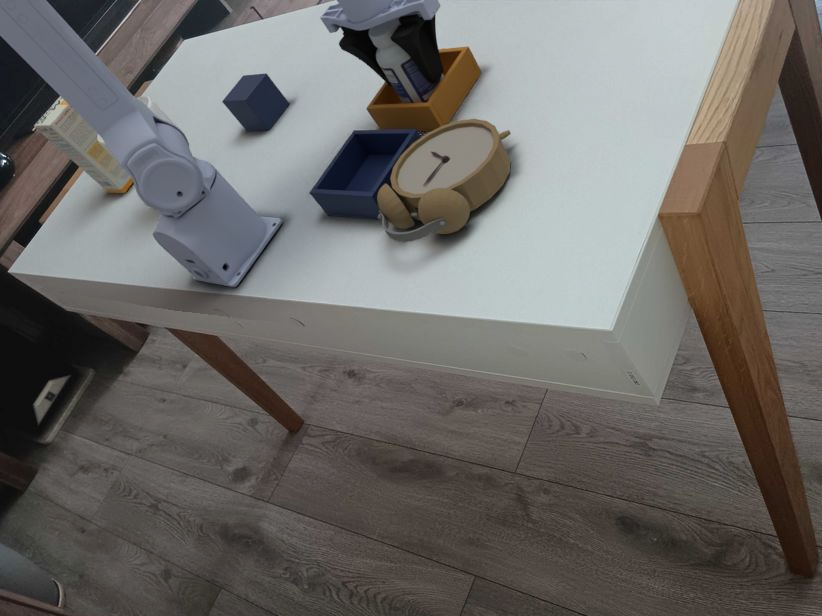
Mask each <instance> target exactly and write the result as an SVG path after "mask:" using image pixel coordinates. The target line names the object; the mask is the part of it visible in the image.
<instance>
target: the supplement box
mask: <svg viewBox="0 0 822 616" xmlns="http://www.w3.org/2000/svg"><path fill="white" fill-rule="evenodd" d="M33 126H34V128H35V129H36V130H37V131H38V132H40V133H41V134H42V136H43V137H45V138H46V139H47V140H48V141H50V142H51V143H52V144H53V145H54V146H55V147H56V148H58V150H60V151H61V152H62V153H63V154H64V155H66V156H67V158H69V159H70V160H71V161H72V162H73V163H74V164H75V165H76V166H78V168H80V169H81V170H82V171H83V172H84V173H86V174H87V175H88V176H89V177H90V178H91V179H92V180H93V181H94V182H96V184H97V185H99V186H100V187H101V188H102V189H104V190H105V191H106V192H107V193H108V194H126V192H127V191H128V190H129V189H130V187H131V186H132V185H133V184H134V182H133V180H132V178H131V176H130V175H129V174H128V172H127V171H126V170H125V169H124V168H123V167H122V166H121V165H120V164H119V163H118V161H117V160H116V159H115V158H114V157H113V156H112V155H111V154H110V153H108V152H107V151H106V150H105V149H104V148H103V147H102V146H101V144H100V143H99V142H98V139H97V136H98V133H97V132H96V131H95V130H94V129H93V128H92V127H91V126H90V125H89V124H88V123H87V122H86V121H85V120H84V119H83V118H82V117H81V116H80V115H79V114H78V113H77V112H76V111H75V110H74V109H73V108H72V107H71V106H70V105H69V104H68V103H67V102H66V101H65V100H64V99H63V98H62V97H61V96H60V95H59V97H58V98H57V99H56V100H55V102H54V103H53V104H52V105H51V106H50V107H49V108H48V110H46V112H45V113H44V114H43V115H42V116H41V117H40V118H39V119H38V120H37V122H36V123H35V124H34V125H33Z"/></svg>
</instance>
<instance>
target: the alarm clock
mask: <svg viewBox="0 0 822 616" xmlns="http://www.w3.org/2000/svg"><path fill="white" fill-rule="evenodd" d="M510 135H511V131H510V130H509V129H508V130H505V131H502V132H500V133H499V131H498V129H497V127H496V126H495V125H494V124H493V123H491V122H489V121H488V120H485V119H484V120H483V119H477V118H469V119H461V120H456V121H454V122H449V123H448V124H446V125H443V126H441V127H439V128H437V129H435V130H433V131H428V132H427V133H426V134H424V135H423V136H421V138H420V139H419V140H417V141H416V142H414V143H413V144H412V145H411V146H410V147H409V148H408V149H407V150H406V151H405V152H404V153H403V154H402V155H401V156H400V158H399V159H398V161H397V162H396V164H395V165H394V167H393V170H392V174H391V177H390V179H391V184H392V188H393V190H394V191H395V192H396V194H397V195H398V196H397V195H396V194H395V192H394V191H393V190H392V189H391V188H390V187H389V186H388V185H387V184H384V185H383V186H382V187H381V188H380V190H379V191H378V195H377V201H378V206H379V208H380V210H379V212H380V214H379V215H378V216H377V217H378V219H377V220H379V221H381V225H382V229H383V230H384V232H385V233H386V234H387V236H388V237H389V238H390V239H391V240H393V241H395V242H401V243H408V242H414V241H417V240H420V239H423V238H425V237H427V236H428V235H430V234H432V233H436V234H442V235H448V234H449V235H450V234H455V233H456V232H459V231H460V230H461V229H462V228H464V227H465V225H466V223H467V221H468V220H469V218H470V213H471V212H473V211H475V210H476V209H478V208H479V207H481V206H482V205H483V204H485V203H486V202H488V201H489V200H490V199H492V198H493V197H494V195H495V194H496V193H497V192H498V191H499V190H501V188H502V187H503V186H504V185H505V184H504V183H505V182H506V180H507V179H508V176H509V174H510V172H511V165H512V164H511V162H512V160H511V159H510V158H511V157H510V156H509V154H508V152H507V150H506V149H505V146H504V143H503V142H502V141H503V140H505V139H506V138H508V137H509V136H510ZM398 197H399V198H398ZM381 212H382V213H381ZM385 218H386V219H387V220H386V219H385ZM414 220H417V221H420V222H421V223H422V224H423V226H420V227H418V228H416V229H412V230H409V231H403V232H402V231H401V232H400V231H394V230H391V229H389V228H390V227H389V225H392V226H394V227H396V228H398V229H401V230H402V229H404V230H405V229H409V228H412V227H413V226H414V227H415V221H414Z"/></svg>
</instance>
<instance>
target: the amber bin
mask: <svg viewBox="0 0 822 616" xmlns="http://www.w3.org/2000/svg"><path fill="white" fill-rule="evenodd" d="M438 50H439V54H440V58H441V62H442V66H443V69H444V72H443V75H444V78H443V79H442V81H441V82H440V84H439V85H438V87H437V88H436V90H435V91H434V93H433V94H432V96H431V97H430V99H429V100H428V102H427V103H405V104H403V102H402V101H401V99H400V97H399V96H398V94H397V93H396V91H395V90H394V88H393V86H390V85H389V84H388V83H386V82H385V81H384V83H383V84H382V86H381V87H380V88H379V90H378V91H377V92H376V94H375V95H374V97H373V98H372V100H371V101H370V102H369V104H368V105H367V106H366V108H365V109H366V111H367V112H368V114H369V116H370V117H371V118H372V120H373V122H374V123H375V124H376V126H377V127H378V130H394V129H417V130H418V132H431V131H433V130H435V129H437V128H439V127H441V126H443V125H446V124H450V123H451V120H452V118H453V117H454V115H455V114H456V112H457V111H458V109H459V108H460V107H461V105H462V103H463V102H464V100H465V99H466V97H467V95H468V94H469V92H471V89H472V88H473V86H475V83H476V81H477V80H478V78H479V77H480V76H481V74H482V69H481V68H480V66H479V64H478V62H477V60H476V58H475V56H474V54H473V52H472V51H471V48H470V46H458V47H449V48H438Z"/></svg>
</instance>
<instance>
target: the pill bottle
mask: <svg viewBox="0 0 822 616" xmlns="http://www.w3.org/2000/svg"><path fill="white" fill-rule="evenodd" d="M399 25H401V24H400V22H399V20H394V21H388V22H385V23H382V24H380V25H377V26H375V27H372V28H370V30H369V37H370V38H371V40H372V42H373V44H374V45H375V46H376V47H377V48H378V49H377V51H376V60H377V62H378V64H379V66H380V67H381V69H382V70H383V72H384V74H385V75H386V77H387V78H388V80H389V82H390V83H391V85H392V86H393V88H394V90H395V91H396V93H397V94H398V96H399V97H400V99H401V101H402V102H403V104H405V103H427V102H428V100H429V99H430V97H431V96H432V94H433V93H434V91H435V90H436V88H437V87H438V85H439V84H440V82H441V81H442V79H443V78H444V75H443V73H442V75H441V76H440V77H439V79H438V80H437V82H436V83H430V82H429V81H428V80H427V79H426V78H425V77H424V75H423V74H422V72H421V71H420V69H419V68H418V66H417V65H416V63H415V62H414V61H413V59H412V58H411V57H410V56H409V55H408V54H407V53H406V52H405V51H404V50H403V49H402V48H401V47H400V46H398V45H397V44H396V43H394V42H392V40H391V39H390V37H391V36H392V34H393V33H394V32H395V30H396V29H397V28H398V26H399Z"/></svg>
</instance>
